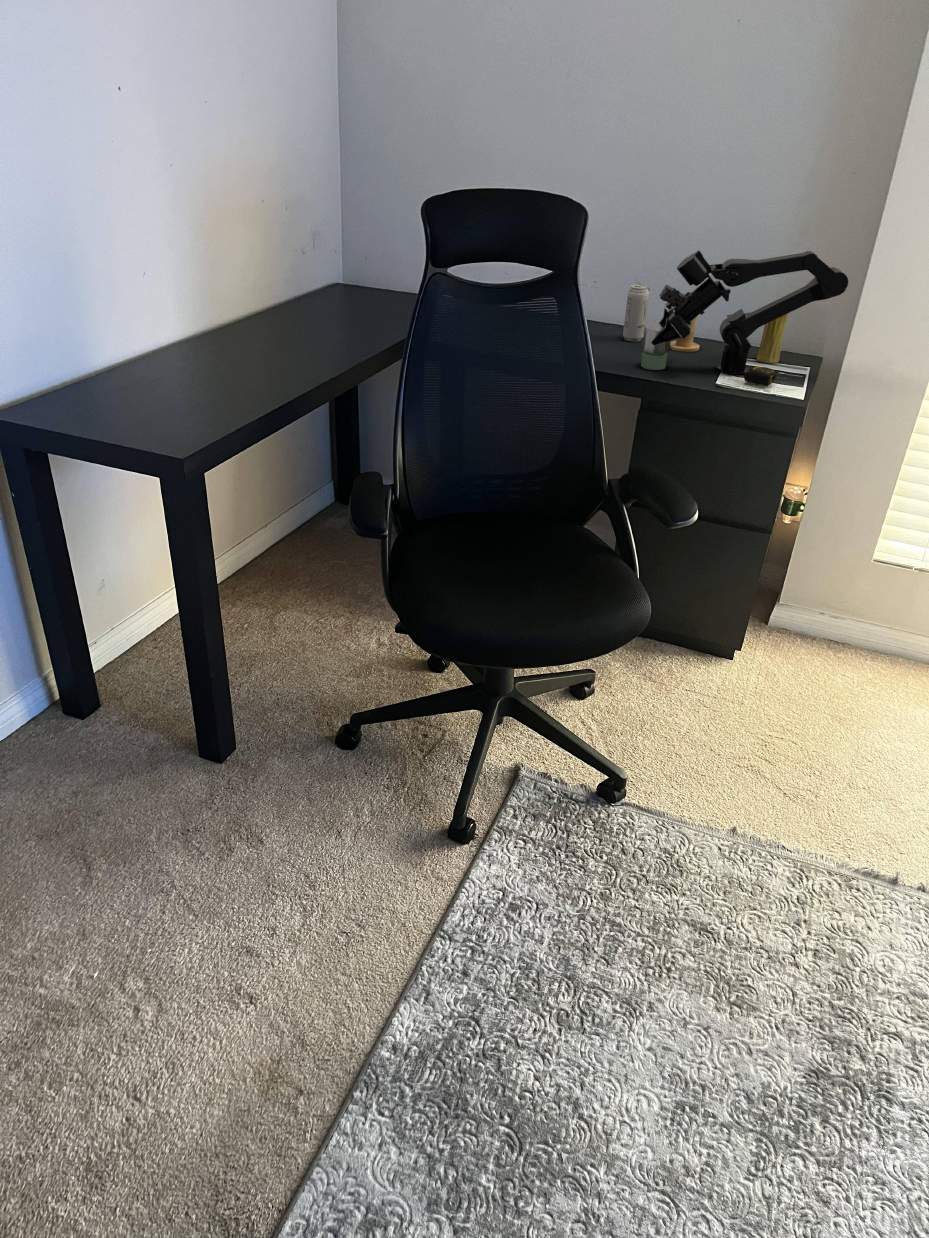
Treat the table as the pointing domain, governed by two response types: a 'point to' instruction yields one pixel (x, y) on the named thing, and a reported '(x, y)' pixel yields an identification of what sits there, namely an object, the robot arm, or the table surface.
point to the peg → (686, 341)
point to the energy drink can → (635, 313)
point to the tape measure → (760, 376)
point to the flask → (653, 361)
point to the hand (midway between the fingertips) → (651, 340)
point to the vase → (772, 340)
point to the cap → (650, 334)
